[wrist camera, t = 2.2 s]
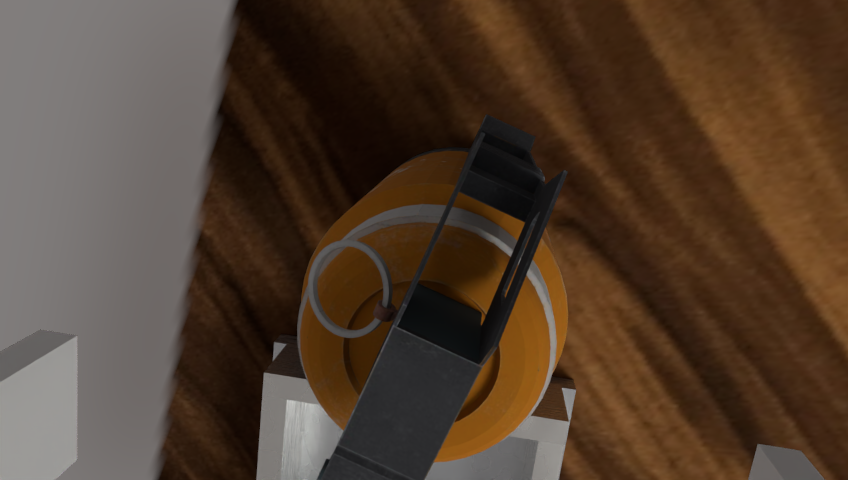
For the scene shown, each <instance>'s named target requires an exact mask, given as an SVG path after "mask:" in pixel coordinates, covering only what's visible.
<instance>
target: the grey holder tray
mask: <svg viewBox="0 0 848 480" xmlns="http://www.w3.org/2000/svg"><path fill="white" fill-rule="evenodd" d="M575 393H576V388H575V384H574V380H571V379H564V378H558V377H552V376H551V380H550V383H549V385H548V387H547V389H546V392H545V394H544V396H543V398H542V400H541V401H540V403H539V404H538V406H537V407H536V409H535V410H534V412H533V413H532V415H531V416H530V417H529V418H528V419H527V420H526V421H525V422H524V423H523V424H522V425H521V426H520V428H518V429H517V430H516V431H515V432H513V433H512V434H511V435H509V436H508V437H507V438H506V439H504V440H503V441H501V442H499V443H497V444H495V445H494V446H492V447H490V448H488V449H486V450H484V451H482V452H480V453H477V454H474V455H472V456H469V457H466V458H462V459H458V460H453V461H448V462H434V463H433V465H432V467H431V469H430V471H429V472H428V474H427V476H426V478H425V480H559V476H560V470H561V465H562V460H563V455H564V450H565V445H566V439H567V434H568V429H569V424H570V419H571V413H572V408H573V403H574V398H575ZM342 433H343V430H342V429H341V428H340V427H339V426H338V425H337V424H336V423H335V422H334V421H333V420H332V419H331V418H330V417H329V416H328V414H327V413H326V412H325V410H324V409H323V408H322V406H321V405H320V404H319V402H318V400H317V398H316V397H315V395H314V393H313V391H312V389H311V387H310V386H309V384H308V382H307V379H306V377H305V374H304V371H303V368H302V365H301V361H300V356H299V350H298V345H297V336H291V335H285V334H281V335H280V336H279V337H278V338H277V339H276V341H275V342H274V351H273V362H272V363H271V364H270V366H269V367H268V368H267V369H266V371H265V372H264V379H263V393H262V407H261V421H260V436H259V450H258V464H257V478H256V480H317V478H318V475H319V473H320V471H321V469H322V467H323V465H324V462H325V460H326V458H327V459H330V457H331V455H332V453H333V452H334V450H335V448H336V446H337V444H338V441H339V439H340V437H341V435H342Z"/></svg>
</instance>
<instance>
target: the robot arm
mask: <svg viewBox="0 0 848 480" xmlns="http://www.w3.org/2000/svg"><path fill="white" fill-rule="evenodd" d="M76 460H77V335H70V334H64V333H58V332H52V331H45V330H39V331H37V332H35V333H33V334H32V335H30V336H28V337H26V338H24V339H22V340H21V341H19V342H17V343H15V344H13V345H11V346H9V347H8V348H6V349H4V350H2V351H0V480H55V479H56V478H57V477H59V476H60V475H61V474H62V473H63V472H64V471H65V470H66V469H67V468H68V467H70V466H71V465H72V464H73V463H74V462H75V461H76ZM748 480H825V479H824V478H823V477H822V476H821V475H820V473H819V472H818V471H817V470H816V469H815V467H814V466H813V465H812V464H811V463H810V461H809V460H808V459H807V458H806V457H805V455H804V454H803V453H802V452H801V451H799V450H793V449H786V448H780V447H774V446H768V445H761V444H758V445H757V449H756V453H755V457H754V460H753V464H752V468H751V472H750V475H749V479H748Z"/></svg>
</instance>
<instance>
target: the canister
mask: <svg viewBox="0 0 848 480" xmlns="http://www.w3.org/2000/svg"><path fill="white" fill-rule="evenodd" d="M534 140H535V137H534V136H532V135H530V134H528V133H526V132H524V131H521V130H519V129H517V128H515V127H513V126H511V125H509V124H506V123H504V122H502V121H500V120H498V119H496V118H493V117H491V116H489V115H487V114H486V116H485V118H484V120H483V122H482V125H481V127H480V129H479V131H478V133H477V135H476V137H475V140H474V142H473V144H472V146H471V148H470V149H468V148H456V147H448V148H440V149H434V150H431V151H427V152H424V153H421V154H419V155H417V156H415V157H413V158H410V159H409V160H407V161H406V162H404V163H403V164H401V165H400V166H398V167H397V168H396V169H395V170H394V171H393V172H391V173H390V174H389V175H388V176H387V177H386V178H385V179H383V180H382V181H381V182H380V183H379V184H378V185H377V186H375V187H374V188H373V189H372V190H371V191H370V192H369V193H367V194H366V195H365V196H364V197H363V198H362V199H361V200H359V201H358V202H357V203H356V204H355V205H354V206H353V207H351V208H350V209H349V210H348V211H347V212H346V213H345V214H344V215H343V216H342V217H341V218H339V219H338V220H337V221H336V222H335V223H334V224H333V225H332V226H331V227H330V229H329V230H328V231H327V233H326V234H325V235H324V237H323V238H322V239H321V241H320V242H319V244H318V246H317V248H316V250H315V252H314V253H313V255H312V257H311V259H310V262H309V265H308V268H307V271H306V274H305V277H304V283H303V289H302V296H301V305H300V310H299V316H298V323H297V345H298V350H299V356H300V361H301V365H302V368H303V371H304V374H305V377H306V379H307V382H308V384H309V386H310V387H311V389H312V391H313V393H314V395H315V397H316V398H317V400H318V402H319V404H320V405H321V406H322V408H323V409H324V410H325V412H326V413H327V414H328V416H329V417H330V418H331V419H332V420H333V421H334V422H335V423H336V424H337V425H338V426H339V427H340V428H341V429H342V430H343V433H342V435H341V437H340V439H339V441H338V444H337V446H336V448H335V450H334V452H333V453H332V455H331V457H330V459H327V458H326V460H325V462H324V465H323V467H322V469H321V471H320V473H319V475H318V478H317V480H425V478H426V476H427V474H428V472H429V471H430V469H431V467H432V465H433V463H434V462H448V461H453V460H458V459H462V458H466V457H469V456H472V455H474V454H477V453H480V452H482V451H484V450H486V449H488V448H490V447H492V446H494V445H495V444H497V443H499V442H501V441H503V440H504V439H506V438H507V437H508V436H509V435H511V434H512V433H513V432H515V431H516V430H517V429H518V428H520V426H521V425H522V424H523V423H524V422H525V421H526V420H527V419H528V418H529V417H530V416H531V415H532V413H533V412H534V410H535V409H536V407H537V406H538V404H539V403H540V401H541V400H542V398H543V396H544V394H545V392H546V389H547V387H548V385H549V383H550V380H551V376H552V374H553V372H554V370H555V368H556V365H557V363H558V361H559V359H560V356H561V354H562V350H563V346H564V342H565V339H566V334H567V322H568V307H567V295H566V291H565V287H564V283H563V279H562V275H561V272H560V269H559V266H558V263H557V260H556V257H555V254H554V251H553V248H552V245H551V241H550V238H549V235H548V232H547V229H546V225H547V222H548V220H549V217H550V215H551V212H552V210H553V207H554V205H555V202H556V200H557V197H558V195H559V192H560V190H561V187H562V185H563V182H564V180H565V177H566V175H567V171H565V170H564V171H562V172H561V173H560V174H558V175H557V176H556V177H555V178H553V179H552V180H551V181H549V182H548V183H547V184H546V185H545V183H544V180H545V178H544V175H543V173H542V171H541V169H540V168H538V167H537V166H536V164H535V161H534V159H533V157H532V155H531V153H530V151H531V148H532V145H533V142H534Z"/></svg>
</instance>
